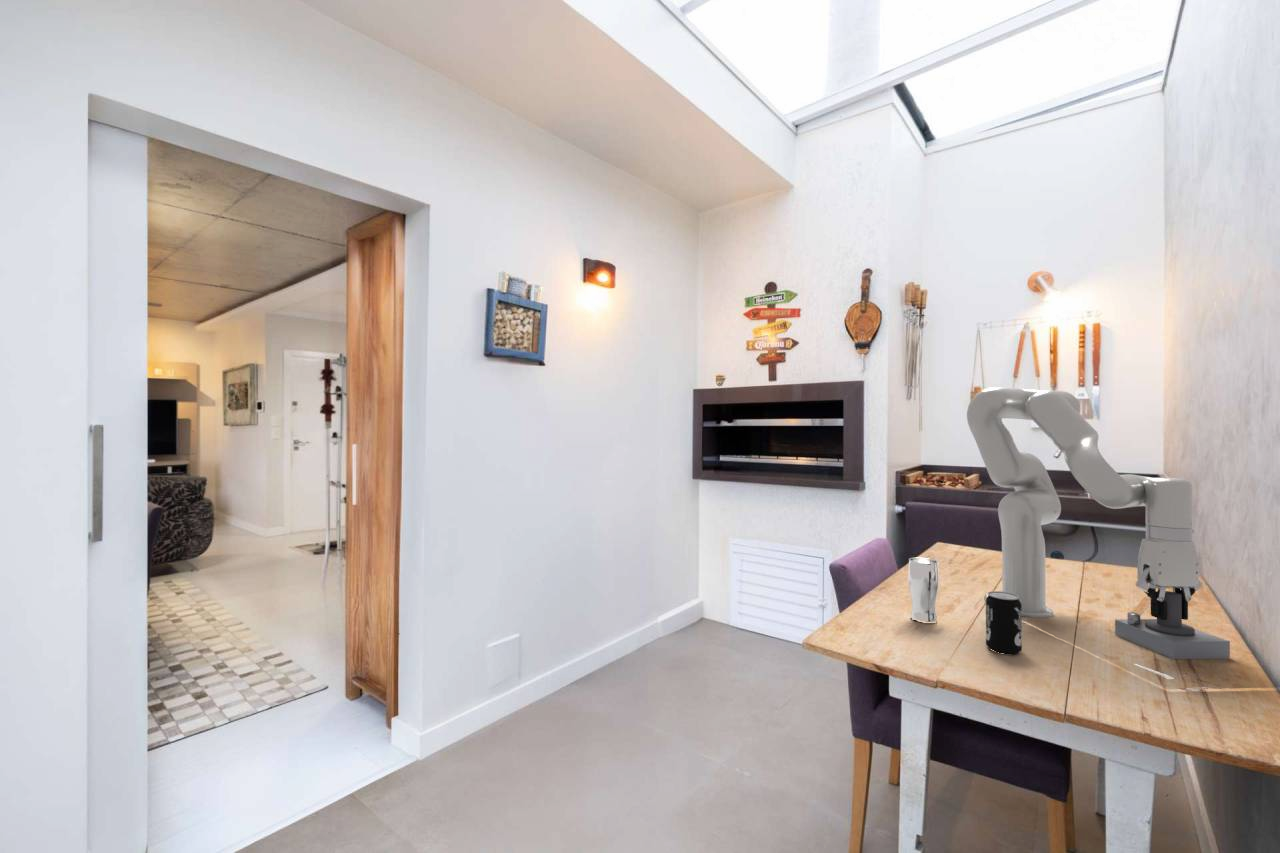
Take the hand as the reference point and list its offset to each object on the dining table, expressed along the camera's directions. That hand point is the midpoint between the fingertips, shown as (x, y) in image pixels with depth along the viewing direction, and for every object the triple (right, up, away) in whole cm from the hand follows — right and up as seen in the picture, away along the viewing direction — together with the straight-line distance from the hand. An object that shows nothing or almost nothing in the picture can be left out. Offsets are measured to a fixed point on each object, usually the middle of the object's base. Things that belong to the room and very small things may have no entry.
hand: (1169, 616), depth 125 cm
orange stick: (+2, -3, +9) cm, 9 cm away
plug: (0, -6, 0) cm, 6 cm away
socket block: (0, -7, 0) cm, 7 cm away
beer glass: (-45, -7, +19) cm, 49 cm away
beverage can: (-37, -7, -1) cm, 38 cm away
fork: (-16, -7, -13) cm, 21 cm away
